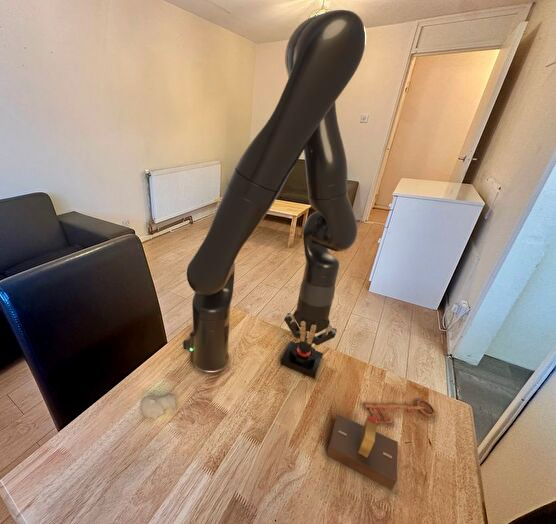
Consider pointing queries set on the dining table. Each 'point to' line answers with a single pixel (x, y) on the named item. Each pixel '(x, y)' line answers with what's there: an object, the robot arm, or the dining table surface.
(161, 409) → the pale grey lumpy piece
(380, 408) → the key
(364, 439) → the lock knob
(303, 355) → the alarm button
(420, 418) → the dining table surface
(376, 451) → the lock plate
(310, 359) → the alarm box
